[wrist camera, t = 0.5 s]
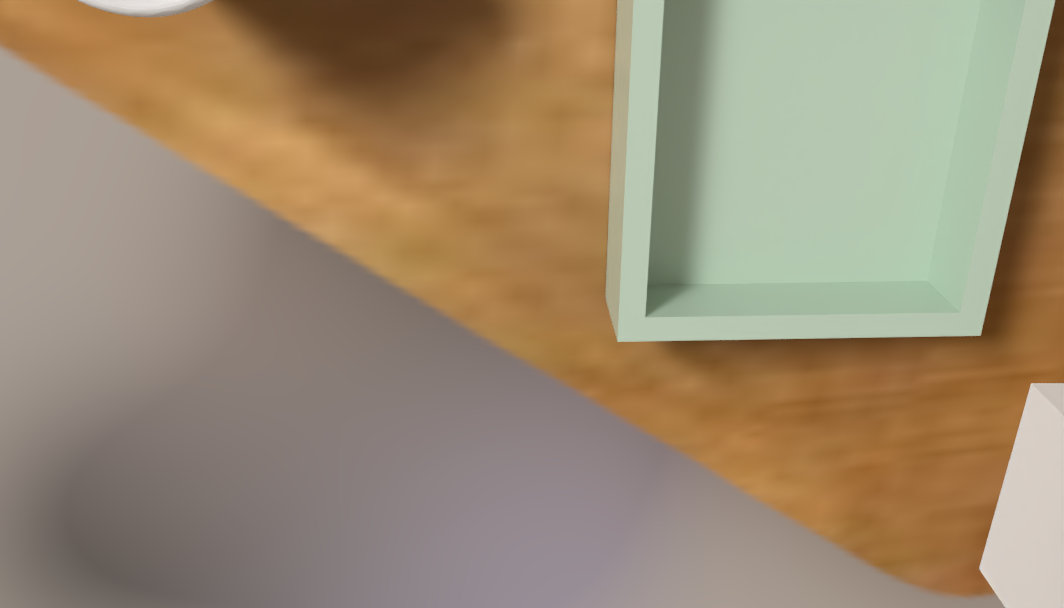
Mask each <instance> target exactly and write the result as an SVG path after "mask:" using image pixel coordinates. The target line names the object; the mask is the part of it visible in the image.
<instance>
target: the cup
mask: <svg viewBox="0 0 1064 608" xmlns="http://www.w3.org/2000/svg"><path fill="white" fill-rule="evenodd" d="M78 1H81V2H83V3H85V4H87V5H89V6H92V7H95V8H98V9H101V10H104V11H107V12H112V13H116V14H120V15H127V16H134V17H161V16H170V15H175V14H180V13H184V12H188V11H190V10H193V9H196V8H199V7H201V6H203V5H205V4H207V3H209V2H211V1H213V0H78Z"/></svg>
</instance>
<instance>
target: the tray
mask: <svg viewBox="0 0 1064 608" xmlns="http://www.w3.org/2000/svg"><path fill="white" fill-rule="evenodd" d="M1054 4H1055V0H617V25H616V49H615V74H614V99H613V124H612V148H611V173H610V198H609V223H608V247H607V272H606V297H605V298H606V301H607V305H608V309H609V312H610V316H611V320H612V323H613V327H614V331H615V334H616V338H617V342H632V341H692V340H753V339H814V338H874V337H935V336H981V332H982V328H983V323H984V319H985V314H986V310H987V305H988V301H989V296H990V292H991V287H992V283H993V278H994V274H995V269H996V265H997V260H998V256H999V251H1000V247H1001V242H1002V238H1003V233H1004V229H1005V224H1006V220H1007V215H1008V211H1009V206H1010V202H1011V197H1012V193H1013V188H1014V184H1015V179H1016V175H1017V170H1018V166H1019V161H1020V157H1021V152H1022V148H1023V143H1024V139H1025V134H1026V130H1027V125H1028V121H1029V116H1030V112H1031V107H1032V103H1033V98H1034V94H1035V89H1036V85H1037V80H1038V76H1039V71H1040V67H1041V62H1042V58H1043V53H1044V49H1045V44H1046V40H1047V35H1048V31H1049V26H1050V22H1051V17H1052V13H1053V8H1054Z"/></svg>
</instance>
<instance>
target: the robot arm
mask: <svg viewBox="0 0 1064 608" xmlns="http://www.w3.org/2000/svg"><path fill="white" fill-rule="evenodd" d="M979 570H980V571H981V572H982V574H983V575H984V577H985V578H986V580H987V581H988V583H989V584H990V586H991V587H992V589H993V590H994V592H995V593H996V595H997V596H998V598H999V599H1000V601H1001V602H1002V603H1003V605H1004V606H1005V608H1064V383H1031V386H1030V390H1029V393H1028V397H1027V401H1026V404H1025V408H1024V411H1023V415H1022V418H1021V422H1020V425H1019V429H1018V432H1017V436H1016V440H1015V443H1014V447H1013V450H1012V454H1011V457H1010V461H1009V464H1008V468H1007V471H1006V475H1005V479H1004V482H1003V486H1002V489H1001V493H1000V496H999V500H998V503H997V507H996V510H995V514H994V518H993V521H992V525H991V528H990V532H989V535H988V539H987V542H986V546H985V549H984V553H983V557H982V560H981V564H980V567H979Z"/></svg>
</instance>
